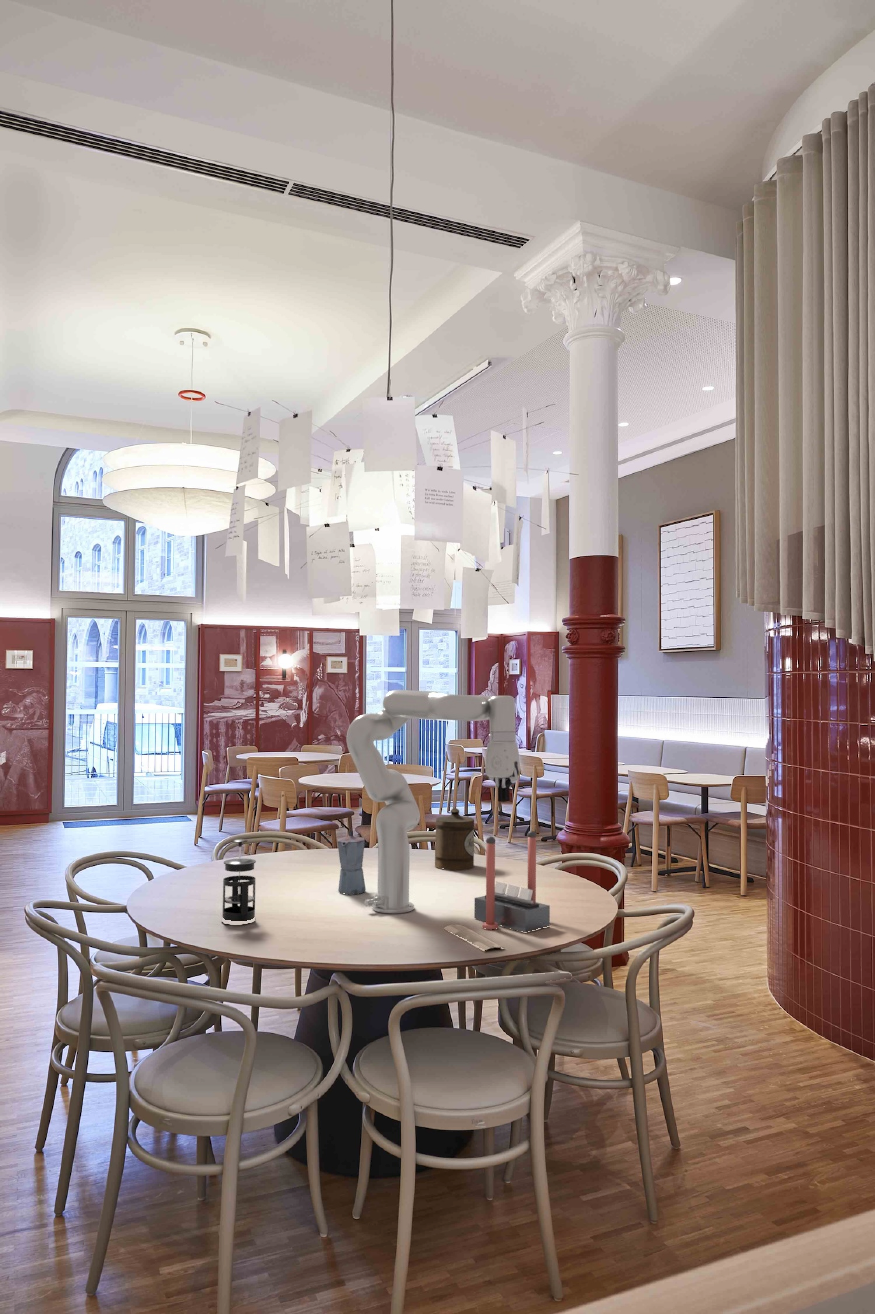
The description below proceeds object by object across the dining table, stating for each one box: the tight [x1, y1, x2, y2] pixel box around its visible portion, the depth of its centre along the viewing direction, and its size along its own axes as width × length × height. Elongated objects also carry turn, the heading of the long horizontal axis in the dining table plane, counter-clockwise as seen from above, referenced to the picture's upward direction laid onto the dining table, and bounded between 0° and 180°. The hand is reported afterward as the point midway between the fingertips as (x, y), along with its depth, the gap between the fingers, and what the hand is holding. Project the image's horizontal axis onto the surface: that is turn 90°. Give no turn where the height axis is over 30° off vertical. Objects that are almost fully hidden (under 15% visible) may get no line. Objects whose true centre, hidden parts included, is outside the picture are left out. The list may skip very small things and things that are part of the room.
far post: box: [527, 830, 537, 902], centre depth 250 cm, size 4×4×25 cm
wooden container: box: [434, 807, 475, 871], centre depth 326 cm, size 15×15×22 cm
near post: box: [481, 835, 499, 931], centre depth 239 cm, size 4×4×25 cm
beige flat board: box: [443, 924, 505, 951], centre depth 227 cm, size 24×7×2 cm, turn 25°
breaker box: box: [473, 894, 551, 932], centre depth 244 cm, size 10×20×7 cm, turn 41°
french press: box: [221, 838, 257, 921], centre depth 243 cm, size 12×9×23 cm
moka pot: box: [337, 830, 367, 895], centre depth 282 cm, size 10×15×20 cm, turn 166°
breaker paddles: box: [495, 881, 534, 904], centre depth 244 cm, size 1×16×4 cm, turn 41°
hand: (503, 801), depth 248 cm, fingers closed
